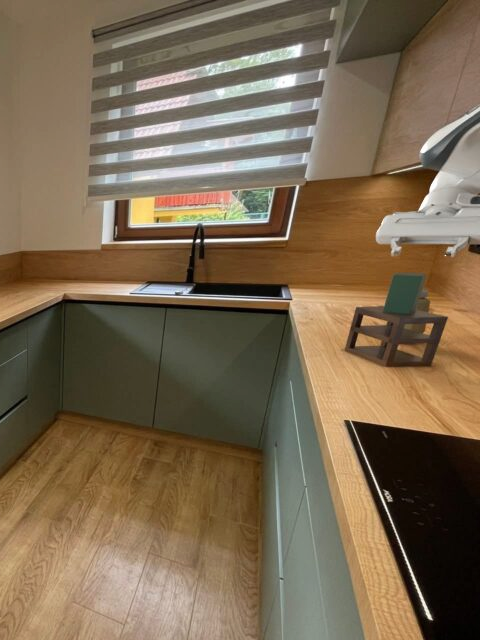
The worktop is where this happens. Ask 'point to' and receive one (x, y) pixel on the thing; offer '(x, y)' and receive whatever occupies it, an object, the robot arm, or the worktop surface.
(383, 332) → the rack
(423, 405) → the worktop surface
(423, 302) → the squeeze bottle
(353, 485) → the worktop surface
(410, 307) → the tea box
